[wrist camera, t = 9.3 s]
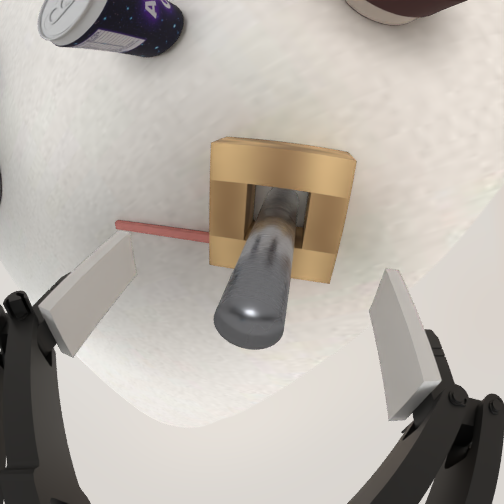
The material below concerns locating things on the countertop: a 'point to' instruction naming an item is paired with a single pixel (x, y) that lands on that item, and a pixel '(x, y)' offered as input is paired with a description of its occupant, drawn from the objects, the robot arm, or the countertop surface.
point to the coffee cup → (399, 9)
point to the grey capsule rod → (261, 277)
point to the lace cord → (163, 231)
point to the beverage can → (112, 25)
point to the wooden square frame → (281, 176)
